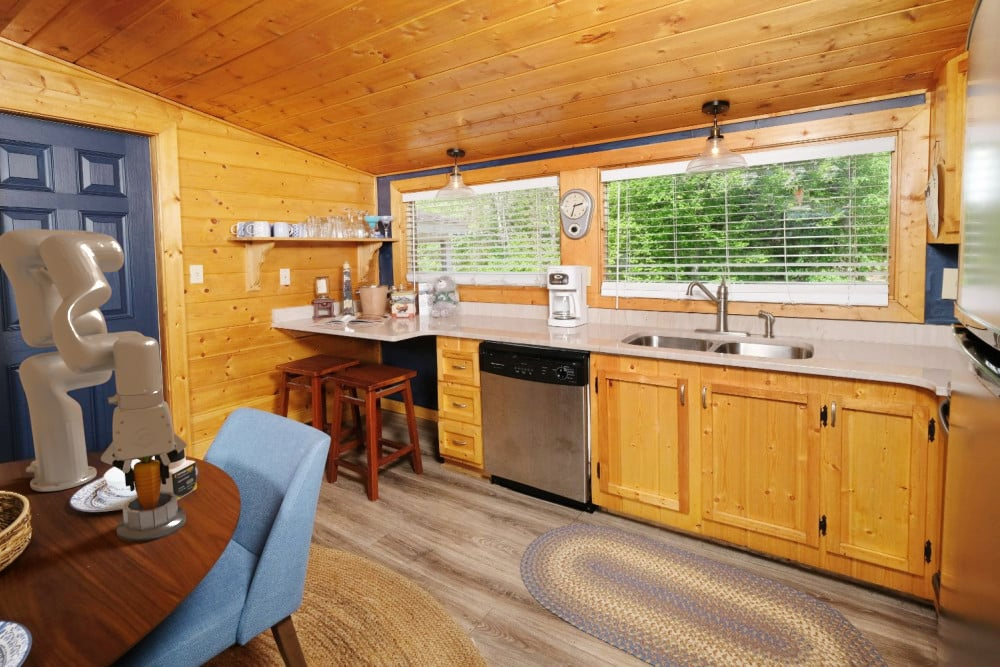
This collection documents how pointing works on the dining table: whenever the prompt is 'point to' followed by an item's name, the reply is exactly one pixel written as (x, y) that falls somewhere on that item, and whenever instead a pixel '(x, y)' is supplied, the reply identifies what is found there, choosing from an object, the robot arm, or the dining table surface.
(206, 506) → the dining table surface
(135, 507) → the duct collar
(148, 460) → the carrot
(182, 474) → the medicine bottle
